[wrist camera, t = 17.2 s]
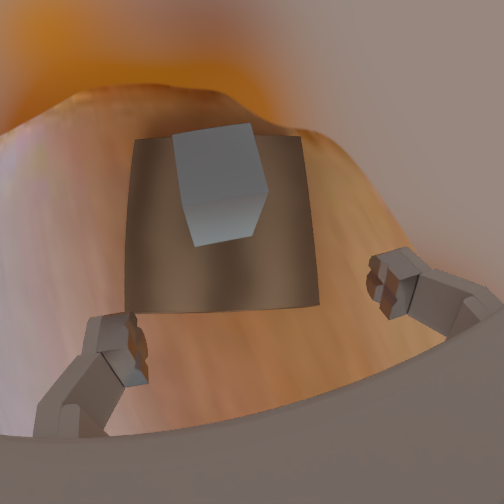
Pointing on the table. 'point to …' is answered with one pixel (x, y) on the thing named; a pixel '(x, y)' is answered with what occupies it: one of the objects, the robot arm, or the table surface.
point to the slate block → (220, 182)
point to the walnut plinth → (222, 253)
